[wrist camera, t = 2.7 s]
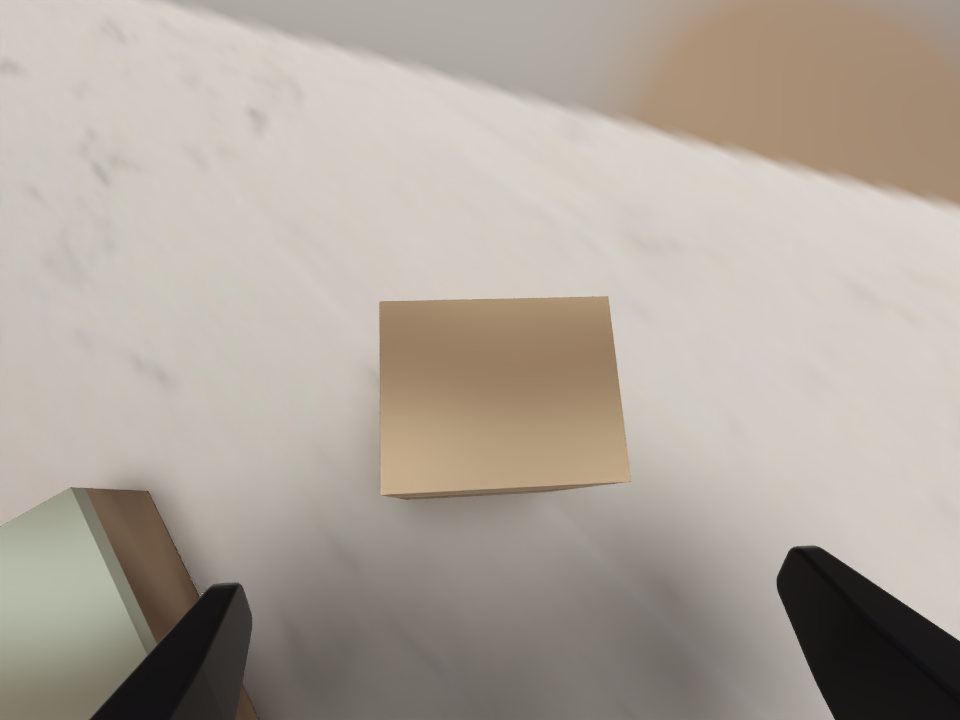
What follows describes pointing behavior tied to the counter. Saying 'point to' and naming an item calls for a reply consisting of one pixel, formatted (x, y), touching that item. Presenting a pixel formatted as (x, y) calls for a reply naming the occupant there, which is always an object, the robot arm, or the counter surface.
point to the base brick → (85, 601)
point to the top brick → (498, 397)
